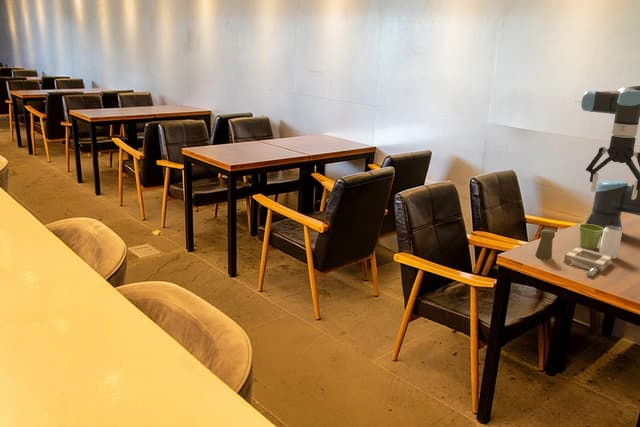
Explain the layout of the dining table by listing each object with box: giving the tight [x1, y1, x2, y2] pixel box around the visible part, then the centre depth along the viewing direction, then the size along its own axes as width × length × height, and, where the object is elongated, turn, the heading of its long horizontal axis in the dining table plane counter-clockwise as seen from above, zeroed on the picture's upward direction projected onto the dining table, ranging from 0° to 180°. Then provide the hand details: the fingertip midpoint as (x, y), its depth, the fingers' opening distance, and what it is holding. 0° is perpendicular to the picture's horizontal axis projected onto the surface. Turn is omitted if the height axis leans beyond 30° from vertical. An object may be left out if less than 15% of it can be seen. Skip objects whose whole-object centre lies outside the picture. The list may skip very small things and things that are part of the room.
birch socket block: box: [563, 246, 613, 273], centre depth 204 cm, size 13×13×3 cm
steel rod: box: [586, 266, 599, 278], centre depth 194 cm, size 10×2×2 cm, turn 136°
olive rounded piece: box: [534, 228, 556, 261], centre depth 207 cm, size 6×6×11 cm
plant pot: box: [578, 223, 604, 251], centre depth 220 cm, size 9×9×9 cm
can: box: [598, 225, 623, 260], centre depth 210 cm, size 6×6×12 cm
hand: (612, 195), depth 192 cm, fingers open, 13 cm apart
